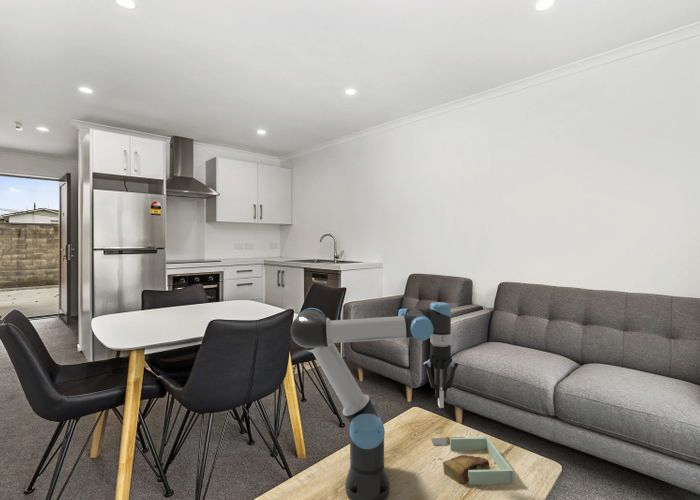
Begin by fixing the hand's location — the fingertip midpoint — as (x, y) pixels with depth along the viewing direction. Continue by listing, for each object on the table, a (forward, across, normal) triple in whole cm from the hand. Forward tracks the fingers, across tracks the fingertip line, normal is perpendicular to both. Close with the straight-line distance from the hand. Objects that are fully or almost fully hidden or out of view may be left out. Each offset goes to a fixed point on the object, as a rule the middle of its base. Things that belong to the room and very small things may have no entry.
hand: (440, 406), depth 136 cm
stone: (+23, +8, -5) cm, 25 cm away
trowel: (+23, +7, +16) cm, 28 cm away
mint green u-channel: (+23, +14, 0) cm, 27 cm away
